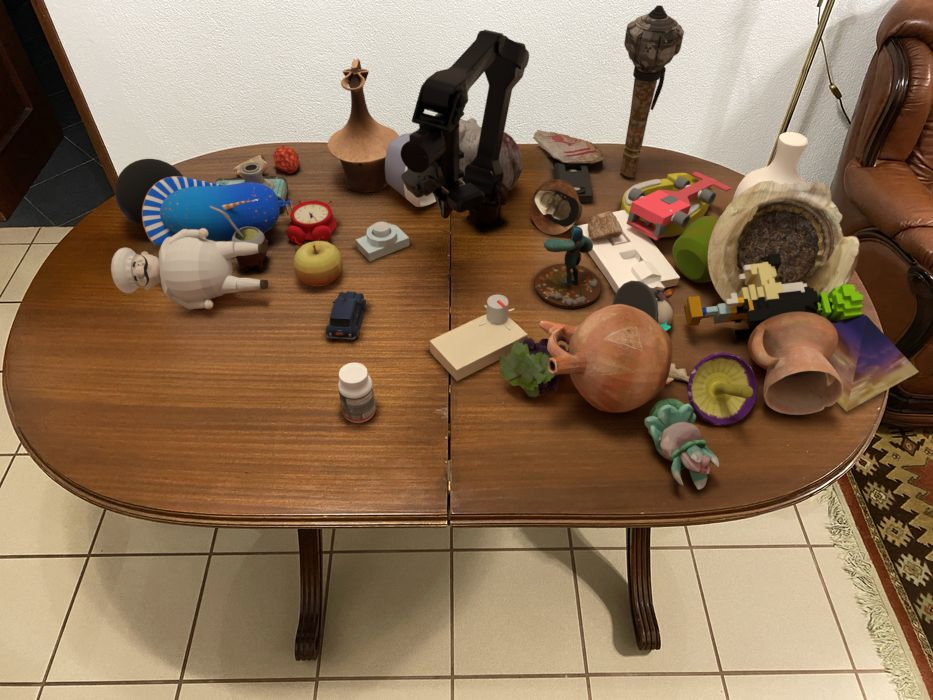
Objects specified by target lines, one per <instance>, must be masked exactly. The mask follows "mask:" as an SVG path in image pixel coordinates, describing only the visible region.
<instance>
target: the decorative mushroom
mask: <svg viewBox="0 0 933 700" xmlns="http://www.w3.org/2000/svg"><path fill="white" fill-rule="evenodd" d="M758 389H759V388H758V381H757V377H756V374H755V372H754V370H753V368H752V367H751V365H750V364H749V363H748V362H747V361H745V359H744V358H742V357H740V356H738V355H737V354H734V353H729V352H716V353H711V354H709V355H708V356H706V357H704V358H702V359H700V361H699V362H698V363H697V364H696V365H695V366H694V367H693V369H692V371H691V373H690V375H689V382H688V383H687V389H686V390H687V396H688V401H689V405H691V407H692V408H693V412H694V413H695V414H696V415H697V416H698V417H699V418H700V419H701V420H703V421H705V422H707V423H709V424H710V425H715V426H722V427H723V426H725V427H726V426H729V425H735V424H736V423H738V422H740V421H741V420H744V418H746V416H748V414H749V413H750V412H751V411H752V410H753V407H754V405H755V403H756V401H757V395H758Z"/></svg>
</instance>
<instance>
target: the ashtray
mask: <svg viewBox="0 0 933 700" xmlns="http://www.w3.org/2000/svg"><path fill="white" fill-rule="evenodd" d="M679 176H681V177H683V178H685V179H687V180H690V185H692V184H694V183H697V182H699V181H700V179H698V178H696V177H694V176H692V175H691V174H689V173H687V172H673V173H668V174H667V176H666V178H661V179H659V178H654V179H650V180H646V181H642V182H639V183H636V184H633V185H632V186H631V187H629V188H628V189H627V190H626V191H625V192H624V194H623V195H622V200H621V205H620V209H619V211H621V210H625V211H626V213H627V214H628V215H629V212H630V209H631V205H632V202H633V201H631V200H629V199H628V195H629V192H630V191H631V190H632V189H633V188H637V189H639V190H641V191H643V192H644V193H645V196H647V195H649V194H651V193H653V192H655V191H658V190H669V191H679V190H678V189H676V188H674V183H675V180H676V179H677V178H678V177H679ZM709 190H710V191H712V192H714V189H713V188H712V187H710V188H709ZM690 205H691V207H690V210H689V213H688V215H690V221H689V223H688V224H687V225H686V226H685V227H684V228H682V227H680V226H679V225H677V224H675V223H673V222H671V223H669V224H668V227H667V230H666V234H665V235H663V236H662V237H661V238H671V237H676V236H681V235H682V234H683V233H684V231H685V230H686V229H687V227H688V226H689V225H690V224H691V223H692V222H694V221H695V220H697V219H698V218H700V217H702V216H705V214H706V212H707V211H708V209H709V207H710V205H708V204H706V203H705V202H703V201H701V200H699V199H697V200H695V201H693V202H690ZM640 220H642V221H644V222H645V219H643V218H642V217H640ZM651 226H653V227H655V228H656V225H655V224H652V225H651Z"/></svg>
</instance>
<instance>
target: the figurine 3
mask: <svg viewBox="0 0 933 700" xmlns="http://www.w3.org/2000/svg"><path fill="white" fill-rule="evenodd" d="M675 291H676V290H675V288H668V289H667V290H665V291H663V293H662V290H661V291H659V290H656V289H654V288H651V287H649V286H648V285H646V284H644V283H643V282H641V281H629V282H627V283H624V284H623V285H622V286H621V287H620V288H619V289H618V291H617V293H615V295H614V297H613V301H612V305H616V304H623V305H628V306H631V307H634V308H637V309H639V310H641V311H644V312H645V313H647V314H648V315H649V316H651V317H652V318H653V319H654V320H655V321H656V322H657V323H658V324H659V325H660V326H661V327H662V328H663V329H664V330H665V331H666V332H667V331H668V330H670V329H671V328H672V326H671V323H672V322H673V320H674V308H673V306H672V303H671V302H670V300H669V298H671V297H672V296H673V295H674V293H675Z"/></svg>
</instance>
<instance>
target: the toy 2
mask: <svg viewBox="0 0 933 700" xmlns="http://www.w3.org/2000/svg"><path fill="white" fill-rule="evenodd" d="M781 263H782V262H781V258H780V253H777V254H768V256H767V258H766V259H765V261H764V262H762V263H758V264H750V265H744V267H743V270H744V272H745V274H739V275H738V279H739V281H745V285H748V287H744V288H741V290H740V292H739V293H738V297H739V298H737V293H731V294H730V299H726V300H725V302H724V303H723V302H721V303H717V305H714V306H704V307H703V306H702V302H701V297H700V295H694V296H688V297H687V299H686V302H685V304H684V306H683V310H684V315H685V320H686V325H687V326H686V327H687V328H688V327H697V326H699V325H700V323H701V321H702V320H703V319H709V318H713V323H714V325H716V324H725V323H733V322H734V323H735V324H739V323H742V322H743V321H747V324H748V328H739V329H734V331H733V333H734V339H735V342H743V341H745V342H746V341H749V338H750V335H751V333H752V332H753V331H754V329H755V328H756V327H757V326H758V325H759V324H760V323H762V322H763V321H765V320H767V319H769V318H771V317H773V316H776V315H779V314H783V313H788V312H810V313H814V314H817V315H820V316H822V317H824V318H827V320H829V321H843V320H847V319H851V318H855V317H859V316H861V315H862V314H863V311H862V308H864V304H863V301H864V300H865V298H864V294H863V293H860V291H859V290H858V291H856V287H855V285H854V284H849V283H848V284H842V285H841V286H840V287H834V288H833V290H832V291H831V292H830V293H829V295H828V296H827V292H820V293H819V295H818V294H817V291H814V288H810V286H807V283H805V284H803V282H797V283H788V284H781V282H779V283H775V279H774V278H776V276H777V273H776V270H777V269H778V268H779V266H780V265H781Z"/></svg>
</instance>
